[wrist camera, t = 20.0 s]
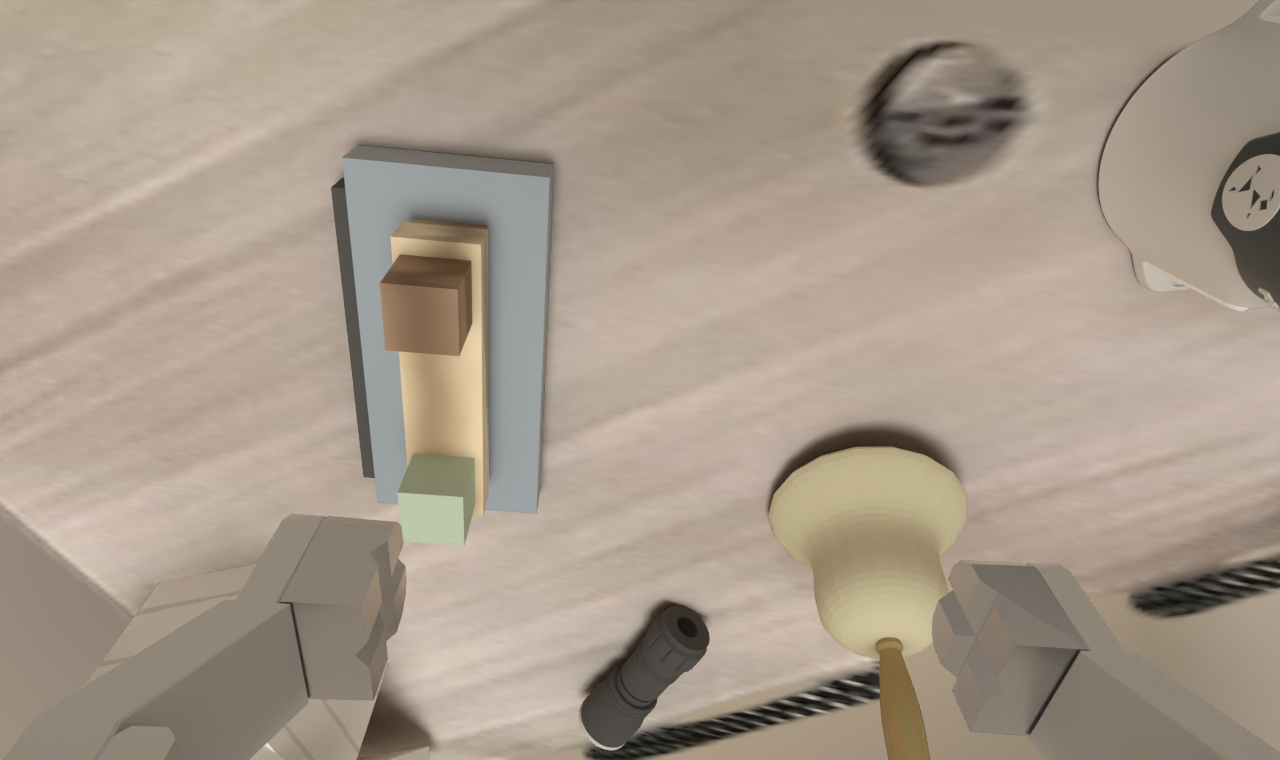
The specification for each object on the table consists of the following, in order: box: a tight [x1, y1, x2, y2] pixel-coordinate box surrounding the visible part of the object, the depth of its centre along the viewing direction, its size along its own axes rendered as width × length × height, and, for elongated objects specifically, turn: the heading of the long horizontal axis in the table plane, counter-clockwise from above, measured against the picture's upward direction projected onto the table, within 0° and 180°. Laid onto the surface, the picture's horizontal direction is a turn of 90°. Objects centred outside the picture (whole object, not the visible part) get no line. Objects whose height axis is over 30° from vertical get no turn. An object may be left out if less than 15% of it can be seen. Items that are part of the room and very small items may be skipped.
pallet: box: [391, 219, 489, 516], centre depth 49 cm, size 5×20×4 cm, turn 174°
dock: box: [331, 145, 554, 514], centre depth 52 cm, size 13×26×3 cm, turn 174°
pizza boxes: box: [85, 563, 430, 760], centre depth 63 cm, size 19×30×18 cm, turn 14°
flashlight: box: [579, 605, 709, 750], centre depth 68 cm, size 15×5×5 cm, turn 150°
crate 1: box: [380, 254, 472, 356], centre depth 42 cm, size 4×4×4 cm
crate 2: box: [397, 454, 475, 545], centre depth 49 cm, size 4×4×4 cm
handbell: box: [768, 446, 968, 760], centre depth 52 cm, size 15×15×25 cm
